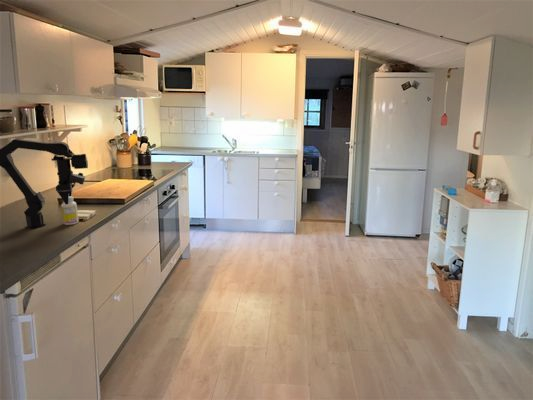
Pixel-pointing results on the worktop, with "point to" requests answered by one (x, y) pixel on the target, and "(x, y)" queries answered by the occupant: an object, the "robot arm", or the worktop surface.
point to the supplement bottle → (70, 212)
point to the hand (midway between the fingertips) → (68, 202)
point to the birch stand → (86, 214)
